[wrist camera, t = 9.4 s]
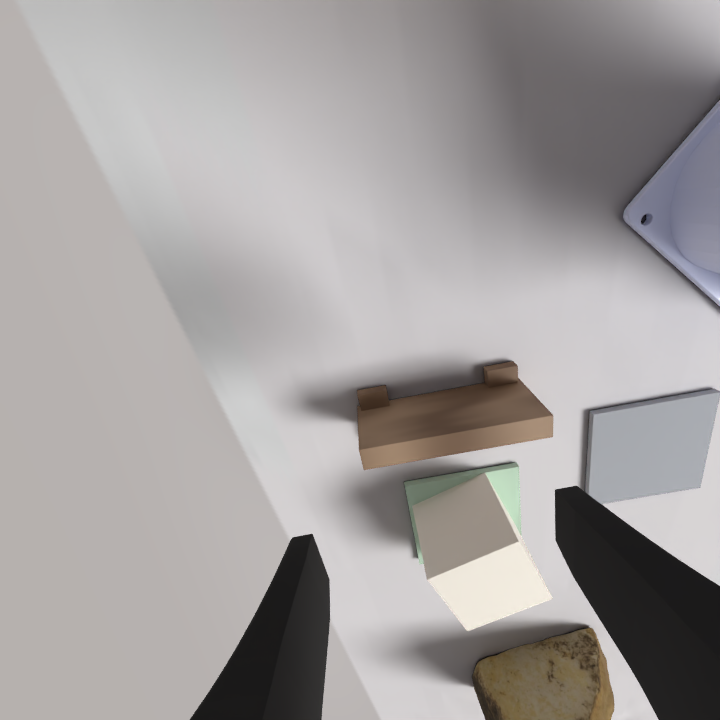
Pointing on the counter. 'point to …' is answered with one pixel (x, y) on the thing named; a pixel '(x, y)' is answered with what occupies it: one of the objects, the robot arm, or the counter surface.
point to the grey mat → (649, 446)
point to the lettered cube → (476, 554)
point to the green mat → (499, 476)
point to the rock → (547, 681)
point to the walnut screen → (450, 419)
